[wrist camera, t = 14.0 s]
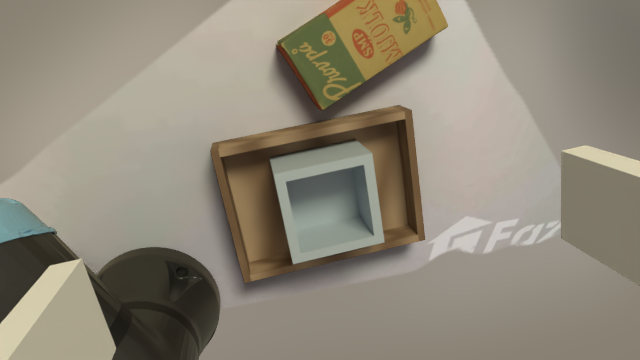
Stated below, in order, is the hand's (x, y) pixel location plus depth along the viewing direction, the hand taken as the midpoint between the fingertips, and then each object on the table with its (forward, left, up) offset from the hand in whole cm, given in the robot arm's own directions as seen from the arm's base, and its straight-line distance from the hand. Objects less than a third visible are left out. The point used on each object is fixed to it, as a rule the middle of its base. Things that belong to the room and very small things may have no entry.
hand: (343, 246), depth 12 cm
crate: (+4, -12, -39) cm, 41 cm away
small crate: (+4, -12, -38) cm, 40 cm away
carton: (+11, +4, -39) cm, 41 cm away
